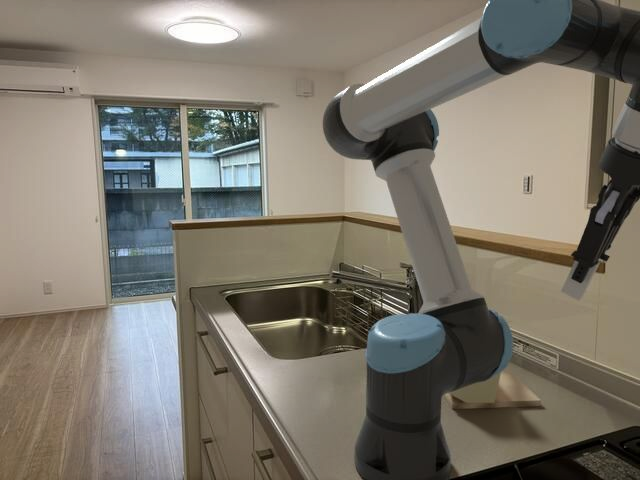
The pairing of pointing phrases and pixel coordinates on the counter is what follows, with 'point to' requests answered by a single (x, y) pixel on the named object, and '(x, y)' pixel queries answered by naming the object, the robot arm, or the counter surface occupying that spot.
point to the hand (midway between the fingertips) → (571, 293)
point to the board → (501, 395)
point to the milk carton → (479, 391)
